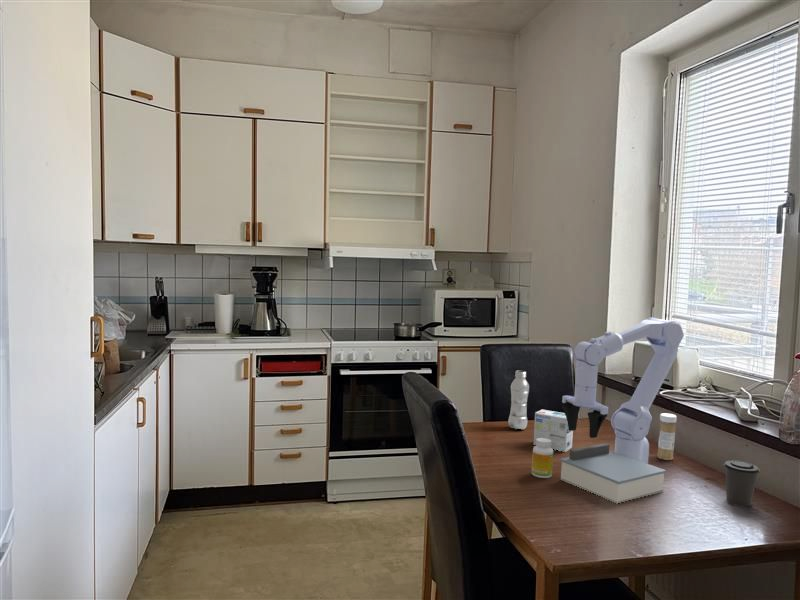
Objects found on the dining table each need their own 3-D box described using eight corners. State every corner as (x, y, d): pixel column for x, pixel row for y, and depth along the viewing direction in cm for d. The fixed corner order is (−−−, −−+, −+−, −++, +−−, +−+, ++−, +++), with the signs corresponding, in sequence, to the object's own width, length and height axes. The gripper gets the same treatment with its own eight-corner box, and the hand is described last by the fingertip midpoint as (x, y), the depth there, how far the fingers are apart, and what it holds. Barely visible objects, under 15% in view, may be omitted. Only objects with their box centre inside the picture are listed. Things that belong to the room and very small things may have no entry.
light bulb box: (572, 448, 193) (574, 414, 192) (565, 453, 187) (568, 418, 187) (539, 441, 199) (541, 408, 198) (532, 446, 193) (534, 412, 192)
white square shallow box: (605, 469, 173) (606, 452, 173) (662, 491, 158) (664, 472, 158) (560, 479, 164) (561, 461, 163) (617, 504, 149) (618, 484, 148)
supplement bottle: (552, 479, 164) (554, 443, 163) (531, 477, 165) (533, 441, 164) (551, 472, 169) (553, 438, 168) (531, 470, 170) (533, 436, 169)
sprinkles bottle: (661, 454, 190) (665, 412, 189) (676, 459, 186) (679, 415, 185) (654, 457, 187) (657, 413, 186) (668, 461, 183) (672, 417, 182)
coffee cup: (760, 510, 149) (764, 470, 148) (722, 504, 151) (726, 465, 151) (753, 499, 156) (757, 460, 156) (718, 493, 159) (721, 455, 158)
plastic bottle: (508, 430, 209) (511, 372, 208) (507, 425, 216) (511, 369, 214) (527, 432, 208) (530, 374, 207) (526, 427, 215) (530, 370, 213)
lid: (606, 451, 174) (607, 441, 173) (665, 472, 158) (666, 461, 158) (560, 460, 164) (560, 449, 163) (618, 484, 148) (619, 472, 148)
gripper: (555, 381, 174) (552, 428, 175) (597, 392, 162) (593, 442, 163) (573, 379, 178) (570, 425, 179) (614, 390, 166) (611, 439, 167)
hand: (582, 433), depth 171 cm, fingers open, 7 cm apart
